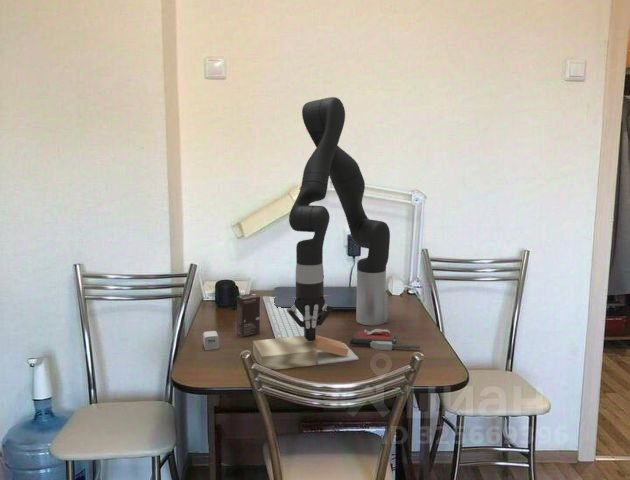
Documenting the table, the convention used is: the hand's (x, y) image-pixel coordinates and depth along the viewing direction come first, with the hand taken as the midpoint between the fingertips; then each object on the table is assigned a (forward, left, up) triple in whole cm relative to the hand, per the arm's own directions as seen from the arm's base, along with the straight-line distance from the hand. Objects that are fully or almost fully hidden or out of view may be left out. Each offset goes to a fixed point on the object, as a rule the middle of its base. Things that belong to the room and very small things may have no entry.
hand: (309, 340), depth 165 cm
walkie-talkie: (-23, -2, -5) cm, 24 cm away
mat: (-6, 0, -5) cm, 8 cm away
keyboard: (-2, -34, -6) cm, 34 cm away
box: (+13, -23, -5) cm, 27 cm away
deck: (+7, 0, -5) cm, 9 cm away
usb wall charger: (+25, -17, -5) cm, 30 cm away
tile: (-5, +1, -3) cm, 6 cm away
